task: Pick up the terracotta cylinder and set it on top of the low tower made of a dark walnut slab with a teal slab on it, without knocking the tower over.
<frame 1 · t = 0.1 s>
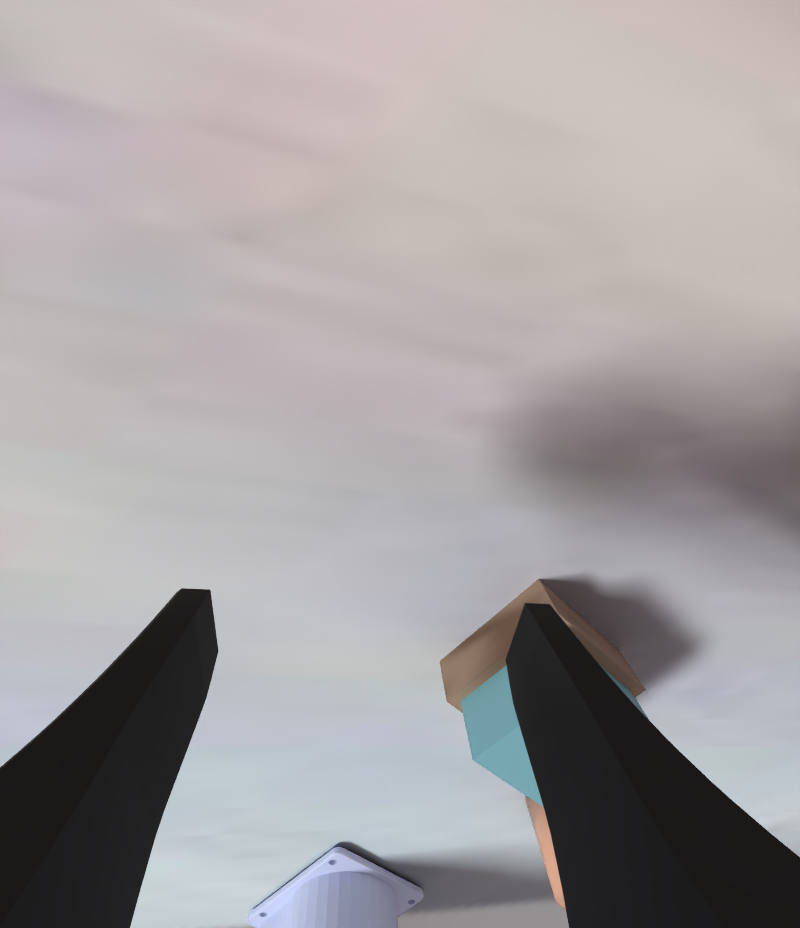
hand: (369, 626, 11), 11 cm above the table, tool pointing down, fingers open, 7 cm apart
walnut base slab: (528, 650, 26), on the table, touching teal top slab
teal top slab: (546, 696, 23), point 3 cm above the table, touching walnut base slab
terracotta cylinder: (559, 793, 30), on the table
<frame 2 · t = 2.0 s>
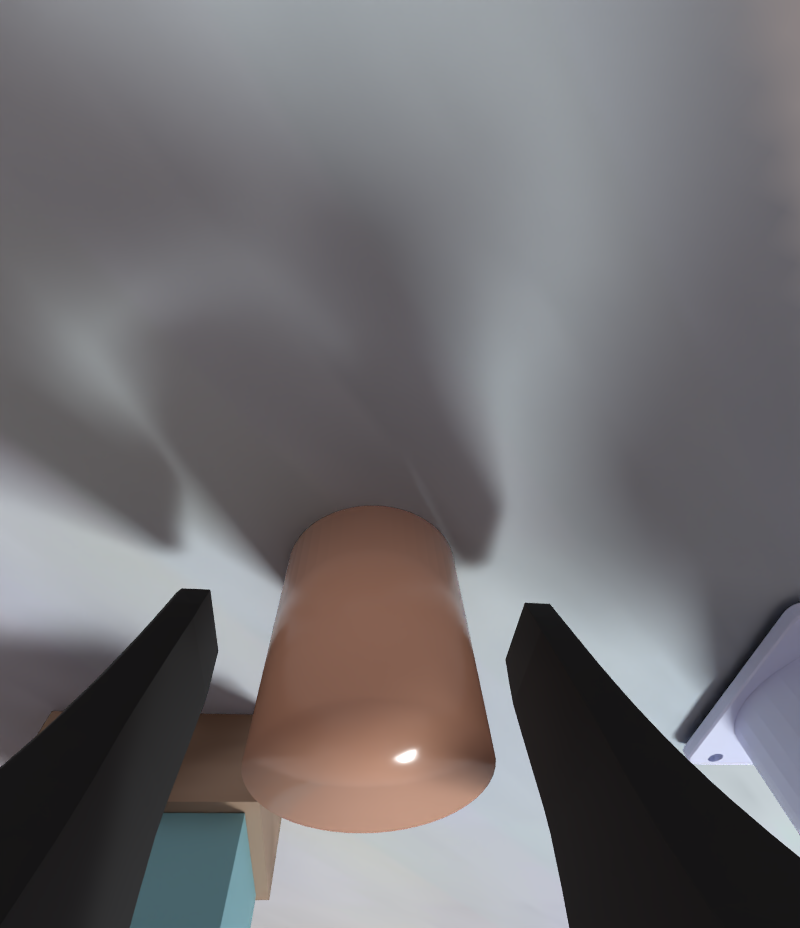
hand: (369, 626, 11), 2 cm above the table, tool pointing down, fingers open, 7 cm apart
walnut base slab: (185, 757, 17), on the table, touching teal top slab
teal top slab: (153, 858, 15), point 3 cm above the table, touching walnut base slab
terracotta cylinder: (372, 572, 12), on the table
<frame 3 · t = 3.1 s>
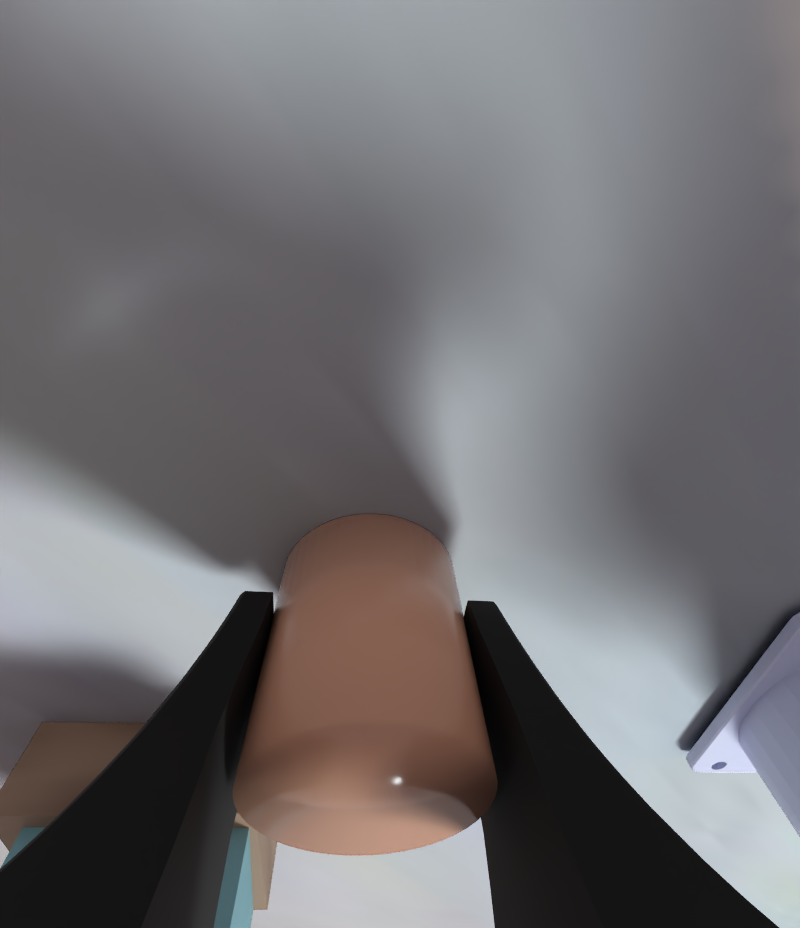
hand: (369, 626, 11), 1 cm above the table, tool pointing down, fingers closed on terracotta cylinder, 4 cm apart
walnut base slab: (180, 766, 17), on the table, touching teal top slab
teal top slab: (152, 872, 15), point 2 cm above the table, touching walnut base slab
terracotta cylinder: (369, 582, 12), on the table, touching gripper
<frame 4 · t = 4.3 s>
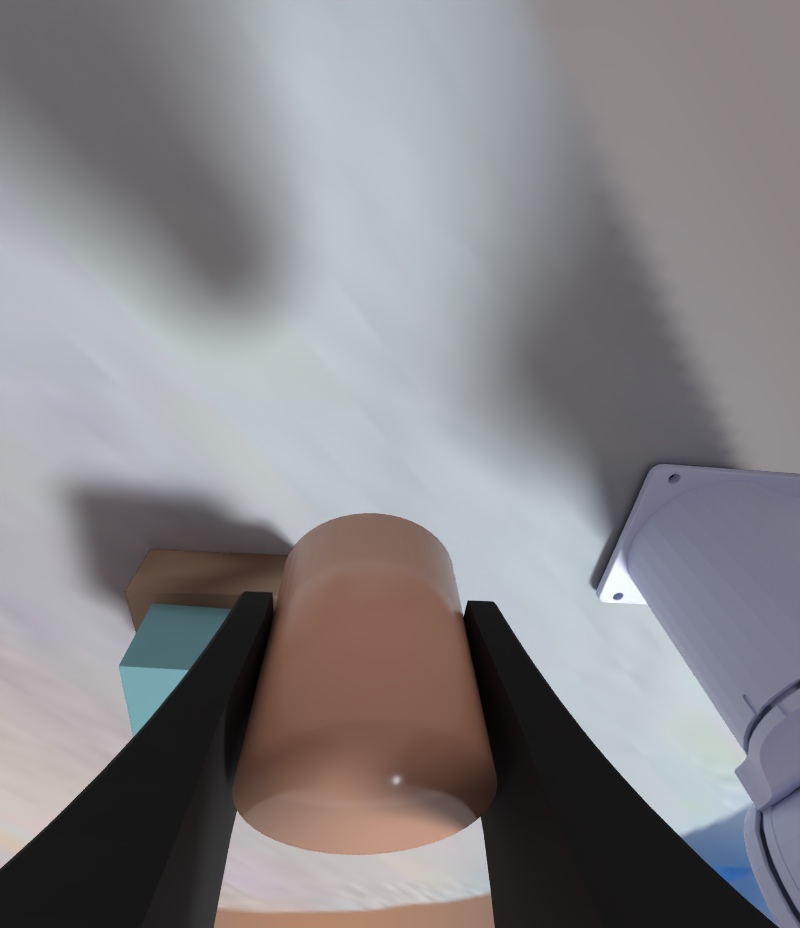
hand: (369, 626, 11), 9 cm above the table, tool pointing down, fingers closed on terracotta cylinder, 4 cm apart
walnut base slab: (237, 599, 24), on the table, touching teal top slab
teal top slab: (227, 654, 21), point 3 cm above the table, touching walnut base slab
terracotta cylinder: (369, 581, 12), point 8 cm above the table, touching gripper
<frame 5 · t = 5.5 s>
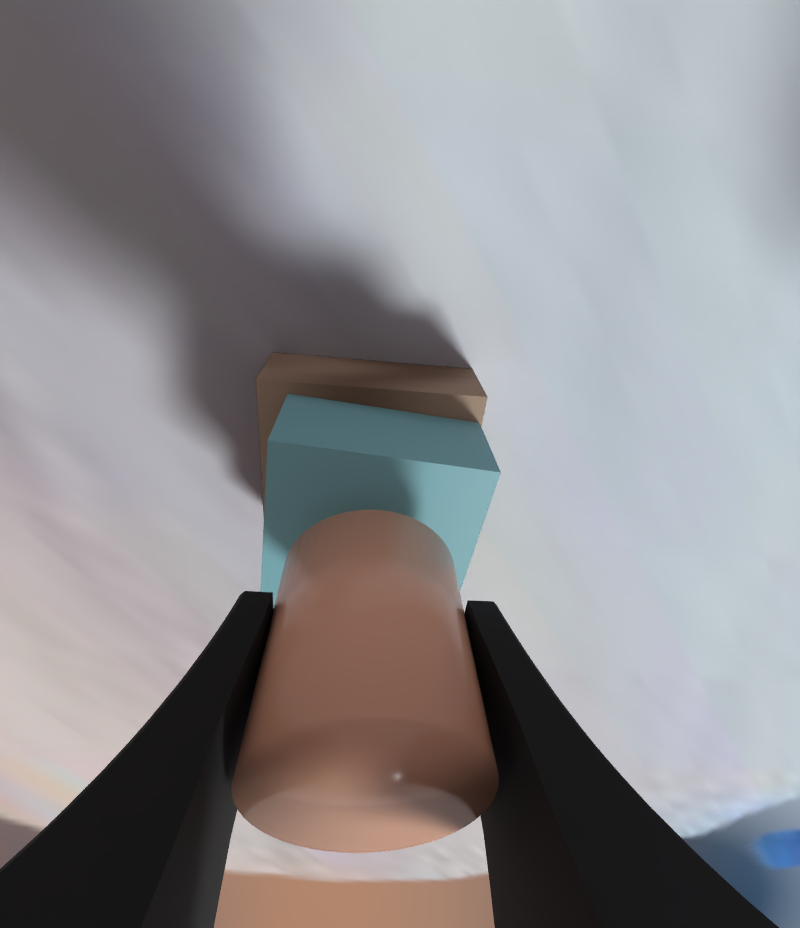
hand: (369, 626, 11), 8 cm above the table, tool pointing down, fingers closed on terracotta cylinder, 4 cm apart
walnut base slab: (367, 443, 18), on the table, touching teal top slab
teal top slab: (371, 488, 16), point 3 cm above the table, touching walnut base slab
terracotta cylinder: (369, 578, 12), point 7 cm above the table, touching gripper
when the fingers open (8 cm above the table, at t = 6.2 s): terracotta cylinder drops 1 cm, resting on teal top slab.
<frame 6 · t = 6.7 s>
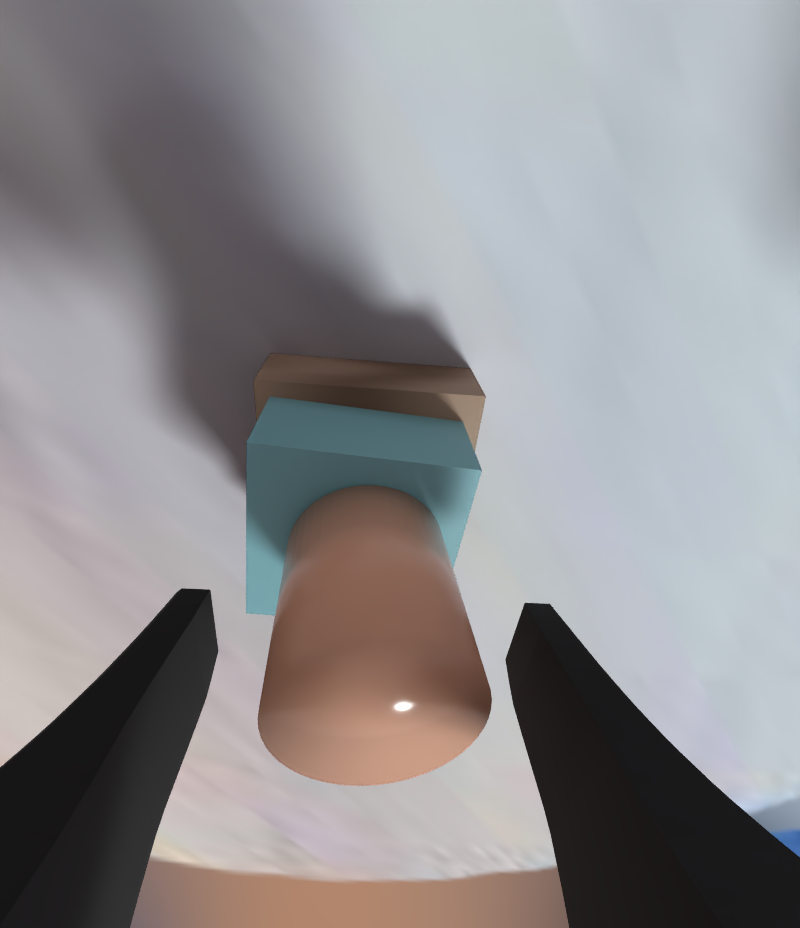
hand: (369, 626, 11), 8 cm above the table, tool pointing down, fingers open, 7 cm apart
walnut base slab: (366, 444, 18), on the table, touching teal top slab
teal top slab: (357, 489, 16), point 3 cm above the table, touching terracotta cylinder, walnut base slab
terracotta cylinder: (366, 552, 13), point 6 cm above the table, touching teal top slab
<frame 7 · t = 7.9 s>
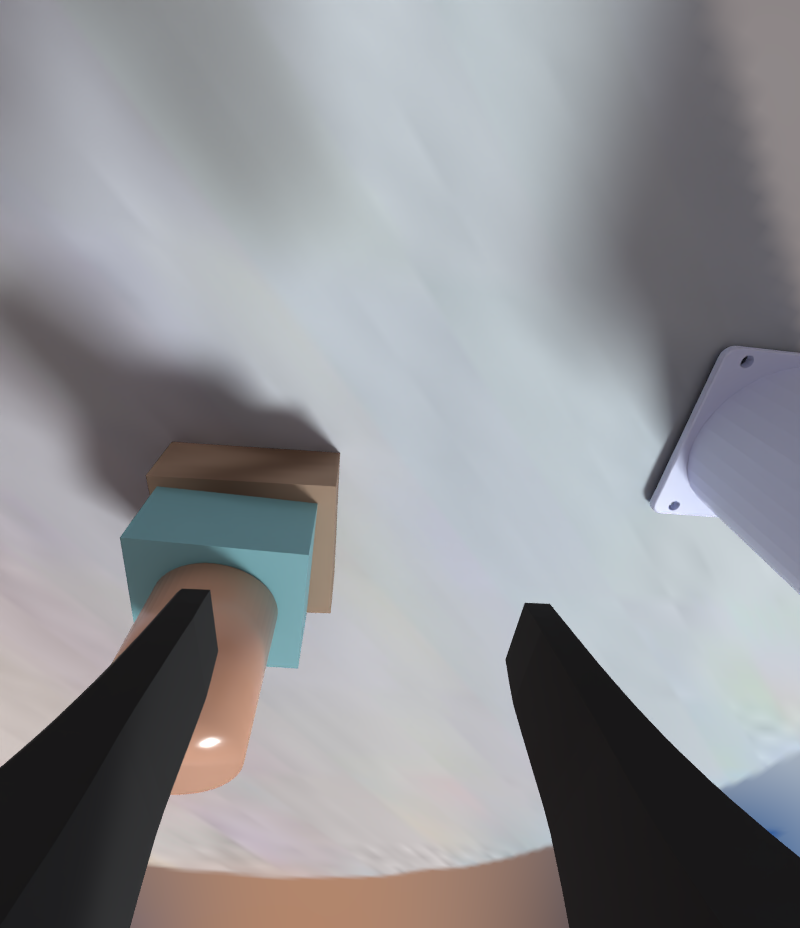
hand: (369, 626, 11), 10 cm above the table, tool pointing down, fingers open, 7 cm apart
walnut base slab: (262, 509, 22), on the table, touching teal top slab
teal top slab: (239, 554, 19), point 3 cm above the table, touching terracotta cylinder, walnut base slab
terracotta cylinder: (215, 608, 17), point 6 cm above the table, touching teal top slab
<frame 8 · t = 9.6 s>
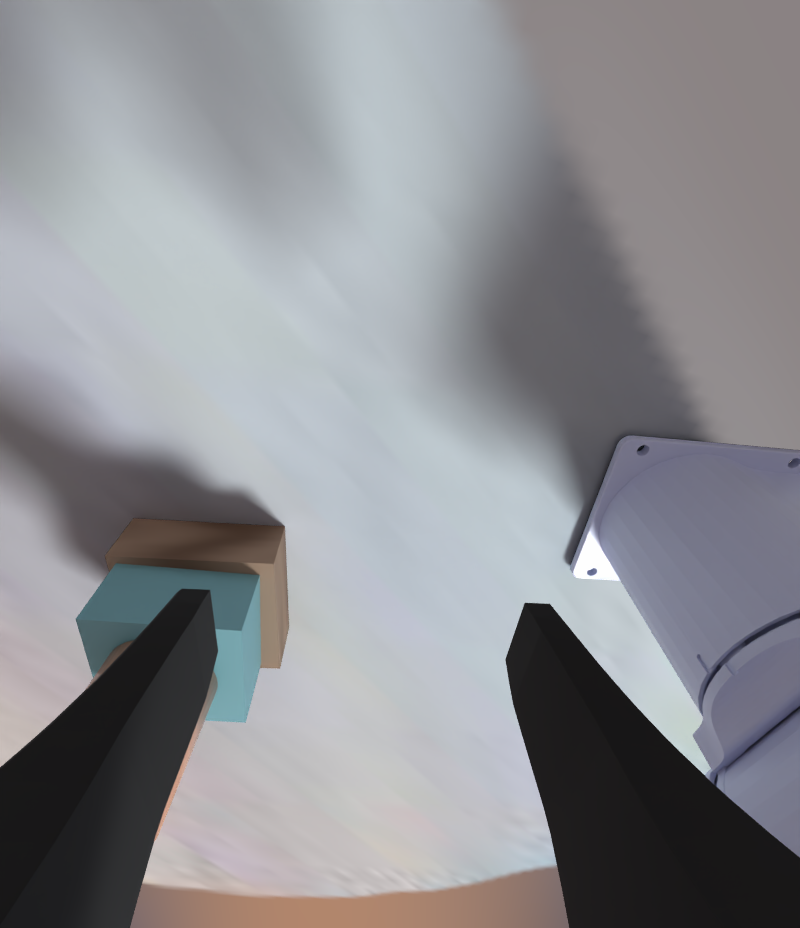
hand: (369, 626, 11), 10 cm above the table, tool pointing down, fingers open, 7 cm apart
walnut base slab: (220, 571, 24), on the table, touching teal top slab
teal top slab: (194, 617, 22), point 3 cm above the table, touching terracotta cylinder, walnut base slab
terracotta cylinder: (162, 676, 19), point 6 cm above the table, touching teal top slab
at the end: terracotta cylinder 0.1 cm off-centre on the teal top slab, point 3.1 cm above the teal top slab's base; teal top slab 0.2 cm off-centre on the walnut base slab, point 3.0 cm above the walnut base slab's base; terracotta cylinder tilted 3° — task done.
